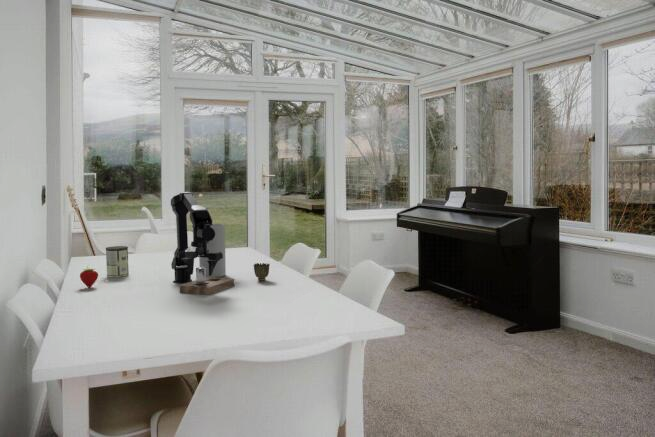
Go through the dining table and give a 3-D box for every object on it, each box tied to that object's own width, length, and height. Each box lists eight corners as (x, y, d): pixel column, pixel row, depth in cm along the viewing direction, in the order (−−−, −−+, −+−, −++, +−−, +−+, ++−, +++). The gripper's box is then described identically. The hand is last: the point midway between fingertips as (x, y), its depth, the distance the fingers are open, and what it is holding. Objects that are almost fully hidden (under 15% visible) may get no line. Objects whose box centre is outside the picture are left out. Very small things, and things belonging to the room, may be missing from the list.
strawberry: (97, 288, 240) (96, 265, 239) (78, 289, 238) (78, 266, 237) (99, 285, 246) (98, 263, 245) (81, 286, 244) (80, 264, 243)
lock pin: (194, 291, 232) (194, 268, 232) (199, 289, 236) (199, 266, 235) (202, 292, 231) (202, 268, 230) (207, 290, 235) (207, 267, 234)
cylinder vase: (194, 277, 266) (193, 225, 264) (209, 272, 278) (208, 223, 276) (216, 278, 261) (215, 226, 260) (230, 274, 273) (229, 224, 271)
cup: (266, 282, 251) (266, 265, 251) (251, 282, 253) (251, 265, 252) (271, 279, 259) (271, 262, 258) (256, 279, 260) (256, 262, 260)
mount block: (179, 292, 231) (179, 285, 231) (207, 283, 250) (207, 276, 250) (208, 294, 226) (208, 287, 226) (234, 285, 246) (233, 278, 245)
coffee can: (112, 273, 277) (111, 245, 276) (132, 273, 276) (131, 246, 275) (102, 277, 267) (101, 248, 265) (122, 277, 265) (121, 248, 264)
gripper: (169, 240, 228) (170, 277, 229) (208, 241, 221) (209, 279, 222) (185, 237, 238) (186, 272, 239) (223, 238, 232) (223, 275, 233)
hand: (200, 275), depth 233 cm, fingers open, 9 cm apart
